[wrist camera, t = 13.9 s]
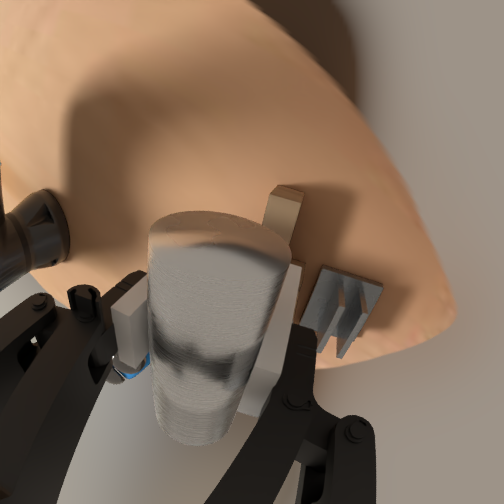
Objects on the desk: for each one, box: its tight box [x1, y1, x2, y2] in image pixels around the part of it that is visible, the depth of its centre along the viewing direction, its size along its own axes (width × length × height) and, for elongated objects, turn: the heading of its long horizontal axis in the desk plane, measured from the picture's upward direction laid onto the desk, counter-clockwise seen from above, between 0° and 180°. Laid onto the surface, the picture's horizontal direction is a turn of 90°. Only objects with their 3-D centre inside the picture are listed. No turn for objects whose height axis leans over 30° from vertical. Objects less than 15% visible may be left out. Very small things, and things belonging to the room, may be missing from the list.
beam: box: [262, 185, 306, 323], centre depth 29 cm, size 24×8×11 cm, turn 167°
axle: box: [147, 211, 292, 446], centre depth 10 cm, size 10×4×4 cm, turn 167°
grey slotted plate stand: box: [299, 265, 383, 359], centre depth 30 cm, size 8×9×6 cm
